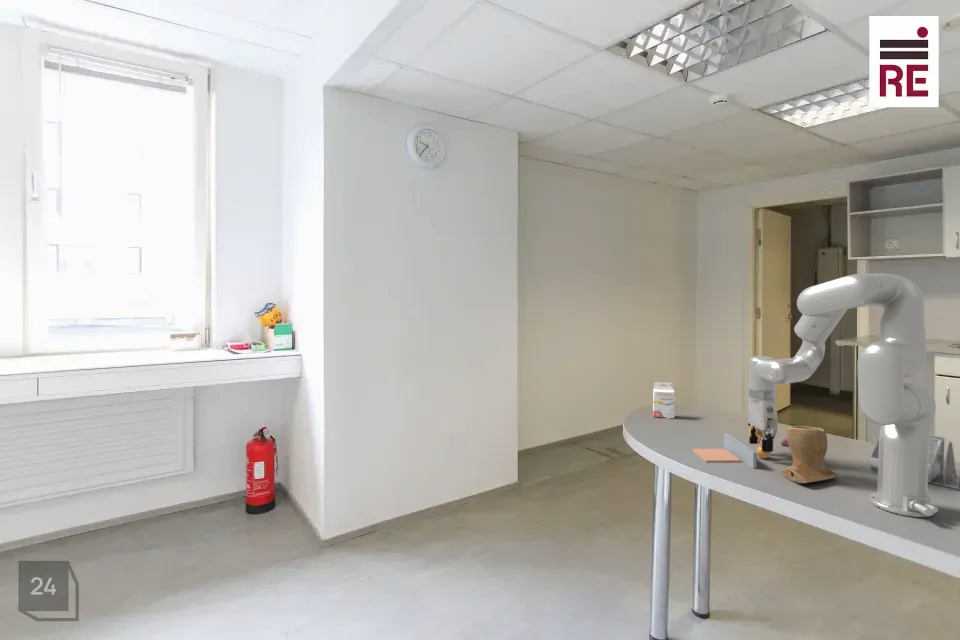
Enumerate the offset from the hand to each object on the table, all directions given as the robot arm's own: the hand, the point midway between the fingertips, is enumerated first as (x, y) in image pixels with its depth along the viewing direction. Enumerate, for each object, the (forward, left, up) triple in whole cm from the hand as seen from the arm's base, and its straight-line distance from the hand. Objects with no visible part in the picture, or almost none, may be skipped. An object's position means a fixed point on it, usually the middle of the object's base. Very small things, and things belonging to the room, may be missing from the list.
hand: (760, 447), depth 159 cm
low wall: (0, +7, -3) cm, 8 cm away
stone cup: (-17, -4, -4) cm, 18 cm away
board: (+1, +14, -3) cm, 14 cm away
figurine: (0, 0, -4) cm, 4 cm away
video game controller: (+7, -15, -4) cm, 17 cm away
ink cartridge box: (+50, +15, -4) cm, 52 cm away
